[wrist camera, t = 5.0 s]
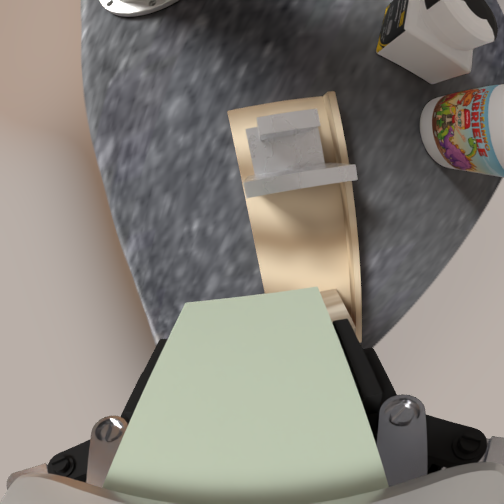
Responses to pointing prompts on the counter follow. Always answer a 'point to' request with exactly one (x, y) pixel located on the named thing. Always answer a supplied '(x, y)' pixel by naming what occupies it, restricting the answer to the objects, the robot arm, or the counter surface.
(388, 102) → the counter surface
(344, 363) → the pale green block
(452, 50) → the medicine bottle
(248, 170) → the panel
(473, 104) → the milk bottle
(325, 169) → the bookend
